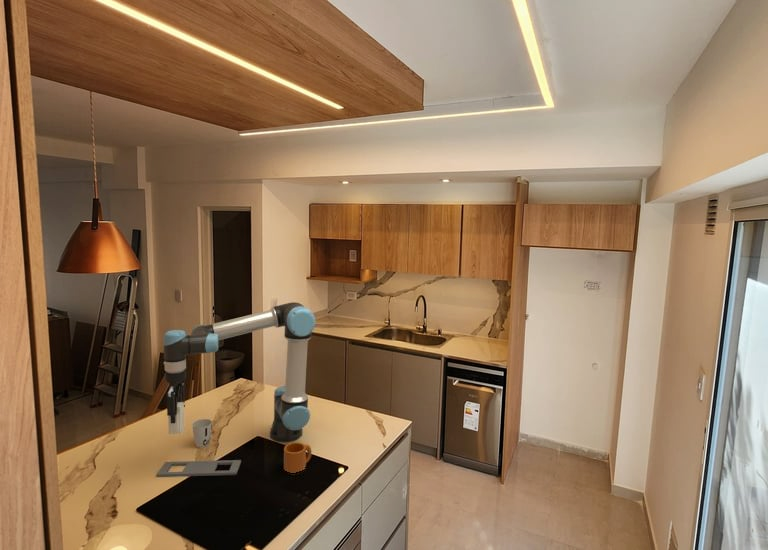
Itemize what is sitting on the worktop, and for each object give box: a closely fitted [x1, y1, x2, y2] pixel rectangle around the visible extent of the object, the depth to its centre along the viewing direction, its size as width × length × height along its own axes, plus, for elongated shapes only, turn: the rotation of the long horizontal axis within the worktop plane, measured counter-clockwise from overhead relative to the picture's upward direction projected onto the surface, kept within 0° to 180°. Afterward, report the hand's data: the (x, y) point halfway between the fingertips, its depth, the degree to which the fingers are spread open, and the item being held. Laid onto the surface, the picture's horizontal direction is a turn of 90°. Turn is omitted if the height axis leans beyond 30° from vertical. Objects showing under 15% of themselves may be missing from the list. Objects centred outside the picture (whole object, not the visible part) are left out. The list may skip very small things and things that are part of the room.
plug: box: [167, 402, 185, 435], centre depth 169 cm, size 5×4×11 cm
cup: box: [191, 418, 213, 448], centre depth 191 cm, size 8×8×10 cm
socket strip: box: [156, 459, 242, 478], centre depth 173 cm, size 30×9×1 cm, turn 97°
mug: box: [283, 441, 312, 473], centre depth 177 cm, size 9×12×9 cm
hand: (176, 426), depth 170 cm, fingers closed on plug, 4 cm apart
